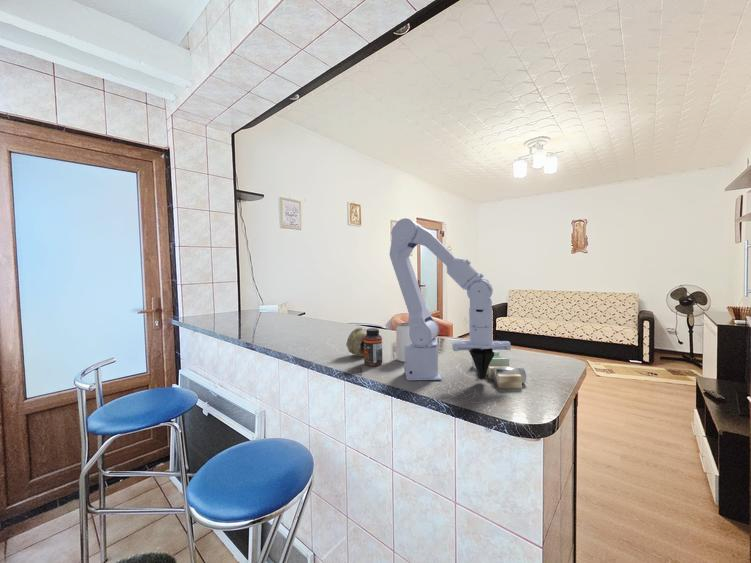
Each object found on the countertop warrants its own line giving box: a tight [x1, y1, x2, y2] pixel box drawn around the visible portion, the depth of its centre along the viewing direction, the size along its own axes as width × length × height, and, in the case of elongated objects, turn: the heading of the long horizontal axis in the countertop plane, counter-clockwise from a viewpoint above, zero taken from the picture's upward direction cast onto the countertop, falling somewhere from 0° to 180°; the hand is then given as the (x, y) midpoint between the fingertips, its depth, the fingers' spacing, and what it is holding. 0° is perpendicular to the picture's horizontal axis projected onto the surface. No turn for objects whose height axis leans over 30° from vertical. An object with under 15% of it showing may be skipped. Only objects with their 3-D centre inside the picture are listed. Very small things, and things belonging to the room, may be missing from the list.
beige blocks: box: [487, 365, 523, 389], centre depth 80 cm, size 6×8×3 cm
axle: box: [492, 366, 527, 385], centre depth 80 cm, size 7×4×4 cm, turn 89°
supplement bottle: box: [363, 327, 383, 367], centre depth 98 cm, size 6×6×11 cm
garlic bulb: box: [345, 326, 367, 358], centre depth 108 cm, size 9×8×10 cm
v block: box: [471, 350, 510, 376], centre depth 90 cm, size 8×8×4 cm
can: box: [395, 322, 412, 363], centre depth 102 cm, size 6×6×12 cm
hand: (481, 377), depth 80 cm, fingers closed
